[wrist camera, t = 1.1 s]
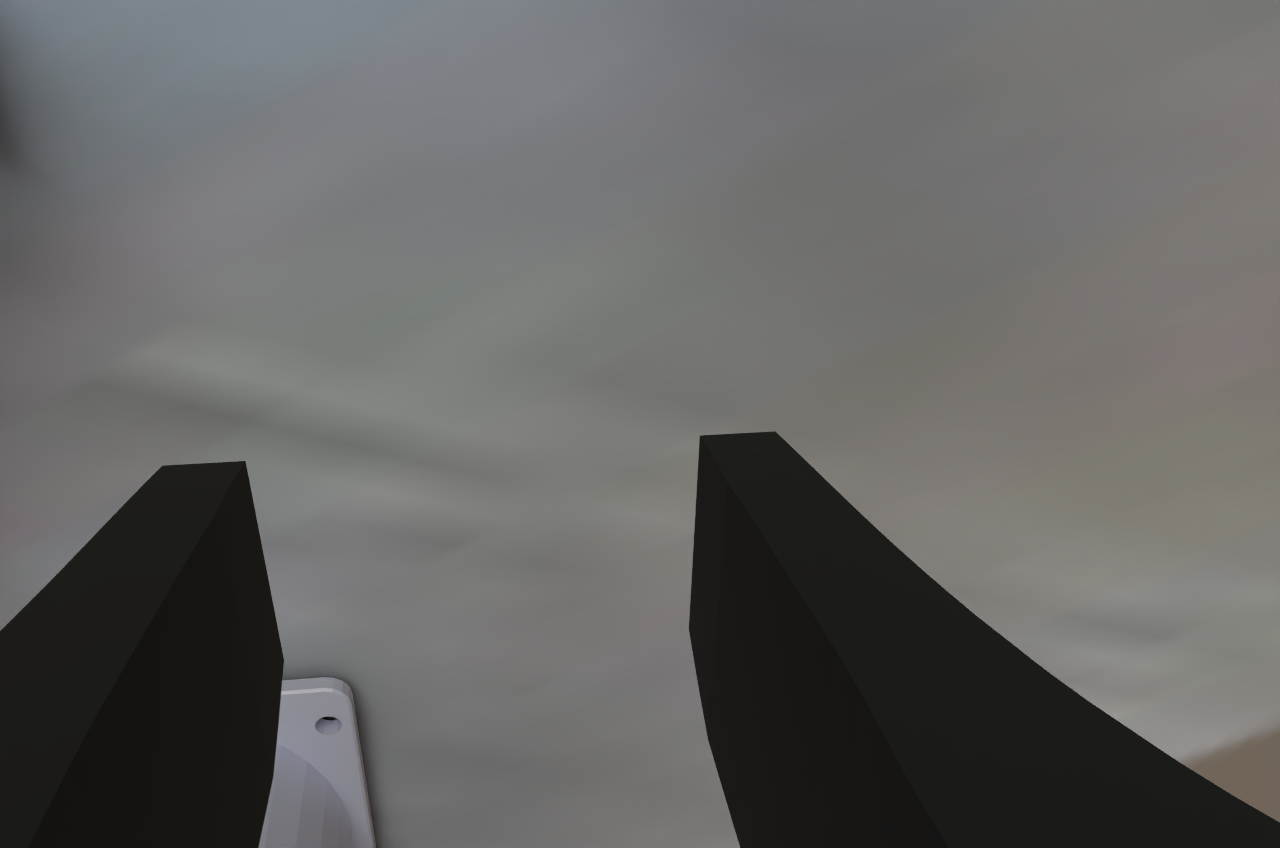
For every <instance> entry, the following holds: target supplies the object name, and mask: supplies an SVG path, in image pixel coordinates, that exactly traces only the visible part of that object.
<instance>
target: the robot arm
mask: <svg viewBox="0 0 1280 848" xmlns="http://www.w3.org/2000/svg"><path fill="white" fill-rule="evenodd" d="M689 632H690V638H691V644H692V650H693V656H694V662H695V668H696V674H697V680H698V686H699V692H700V697H701V703H702V708H703V713H704V719H705V724H706V730H707V735H708V740H709V744H710V747H711V751H712V754H713V757H714V761H715V764H716V768H717V771H718V774H719V778H720V781H721V784H722V788H723V791H724V794H725V798H726V801H727V804H728V808H729V811H730V815H731V818H732V821H733V825H734V828H735V831H736V834H737V838H738V841H739V844H740V848H1280V823H1279V822H1278V821H1276V820H1274V819H1272V818H1271V817H1269V816H1267V815H1265V814H1264V813H1262V812H1260V811H1259V810H1257V809H1255V808H1253V807H1252V806H1250V805H1248V804H1246V803H1245V802H1243V801H1241V800H1239V799H1238V798H1236V797H1234V796H1233V795H1231V794H1229V793H1228V792H1226V791H1224V790H1223V789H1221V788H1220V787H1218V786H1217V785H1215V784H1213V783H1212V782H1210V781H1208V780H1207V779H1205V778H1204V777H1202V776H1200V775H1199V774H1197V773H1196V772H1194V771H1192V770H1191V769H1189V768H1187V767H1186V766H1184V765H1183V764H1181V763H1180V762H1178V761H1176V760H1175V759H1173V758H1172V757H1170V756H1169V755H1167V754H1166V753H1164V752H1163V751H1161V750H1160V749H1158V748H1157V747H1156V746H1154V745H1153V744H1151V743H1150V742H1148V741H1147V740H1145V739H1144V738H1142V737H1141V736H1139V735H1138V734H1136V733H1135V732H1133V731H1132V730H1130V729H1129V728H1127V727H1126V726H1124V725H1123V724H1121V723H1120V722H1118V721H1117V720H1115V719H1114V718H1112V717H1111V716H1109V715H1108V714H1106V713H1105V712H1104V711H1102V710H1101V709H1099V708H1098V707H1096V706H1095V705H1093V704H1092V703H1090V702H1089V701H1087V700H1086V699H1084V698H1083V697H1082V696H1080V695H1079V694H1078V693H1076V692H1075V691H1073V690H1072V689H1071V688H1069V687H1068V686H1067V685H1065V684H1064V683H1062V682H1061V681H1060V680H1058V679H1057V678H1055V677H1054V676H1053V675H1051V674H1050V673H1049V672H1047V671H1046V670H1045V669H1043V668H1042V667H1041V666H1039V665H1038V664H1037V663H1036V662H1034V661H1033V660H1032V659H1031V658H1029V657H1028V656H1027V655H1025V654H1024V653H1023V652H1022V651H1020V650H1019V649H1018V648H1017V647H1015V646H1014V645H1013V644H1011V643H1010V642H1009V641H1008V640H1006V639H1005V638H1004V637H1003V636H1001V635H1000V634H999V633H997V632H996V631H995V630H994V629H992V628H991V627H990V626H988V625H987V624H986V623H985V622H983V621H982V620H981V619H980V618H978V617H977V616H976V615H975V614H973V613H972V612H971V611H970V610H969V609H968V608H966V607H965V606H964V605H963V604H962V603H960V602H959V601H958V600H957V599H956V598H954V597H953V596H952V595H951V594H950V593H948V592H947V591H946V590H945V589H944V588H942V587H941V586H940V585H939V584H938V583H937V582H936V581H934V580H933V579H932V578H931V577H930V576H929V575H927V574H926V573H925V572H924V571H923V570H922V569H921V568H920V567H918V566H917V565H916V564H915V563H914V562H913V561H912V560H911V559H909V558H908V557H907V556H906V555H905V554H904V553H903V552H902V551H900V550H899V549H898V548H897V547H896V546H895V545H894V544H893V543H892V542H890V541H889V540H888V539H887V538H886V537H885V536H884V535H883V534H882V533H881V532H880V531H879V530H877V529H876V528H875V527H874V526H873V525H872V524H871V523H870V522H869V521H868V520H867V519H866V518H865V517H864V516H863V515H862V514H861V513H860V512H858V511H857V510H856V509H855V508H854V507H853V506H852V505H851V504H850V503H849V502H848V501H847V500H846V499H845V498H844V497H843V496H842V495H841V494H840V493H839V492H838V491H837V490H835V489H834V488H833V487H832V486H831V485H830V484H829V483H828V482H827V481H826V480H825V479H824V478H823V477H822V476H821V475H820V474H819V473H818V472H817V471H816V470H815V469H814V468H813V467H812V466H811V465H810V464H809V463H808V462H806V461H805V460H804V459H803V458H802V457H801V456H800V455H799V454H798V453H797V452H796V451H795V450H794V449H793V448H792V447H791V446H790V445H789V444H788V443H787V442H786V441H785V440H784V439H783V438H781V437H780V436H779V435H778V434H777V433H776V432H758V433H740V434H722V435H704V436H700V445H699V462H698V480H697V497H696V515H695V533H694V550H693V568H692V586H691V603H690V621H689ZM283 664H284V658H283V653H282V648H281V643H280V638H279V632H278V627H277V622H276V617H275V612H274V606H273V601H272V596H271V591H270V586H269V581H268V575H267V570H266V565H265V560H264V555H263V550H262V544H261V539H260V534H259V529H258V524H257V519H256V513H255V508H254V503H253V498H252V493H251V488H250V482H249V477H248V472H247V467H246V462H245V461H239V462H222V463H204V464H186V465H168V466H162V467H161V468H160V469H159V470H158V471H157V472H156V473H155V474H154V475H153V476H152V477H151V478H150V479H149V480H148V481H147V482H146V483H145V484H144V485H143V486H142V487H141V488H140V489H139V490H138V491H137V492H136V493H135V494H134V495H133V496H132V497H131V498H130V499H129V500H128V501H127V502H126V503H125V504H124V505H123V506H122V507H121V508H120V509H119V510H118V511H117V513H116V514H115V515H114V516H113V517H112V518H111V519H110V520H109V521H108V522H107V523H106V524H105V525H104V526H103V527H102V528H101V529H100V530H99V531H98V532H97V533H96V534H95V535H94V536H93V538H92V539H91V540H90V541H89V542H88V543H87V544H86V545H85V546H84V547H83V548H82V549H81V550H80V551H79V552H78V553H77V554H76V555H75V556H74V557H73V558H72V559H71V560H70V561H69V562H68V564H67V565H66V566H65V567H64V568H63V569H62V570H61V571H60V572H59V573H58V574H57V575H56V576H55V577H54V578H53V579H52V580H51V581H50V582H49V583H48V584H47V585H46V586H45V587H44V588H43V589H42V590H41V591H40V592H39V593H38V594H37V595H36V596H35V597H34V598H33V599H32V600H31V601H30V602H29V603H28V604H27V605H26V606H25V607H24V608H23V609H22V610H21V611H20V612H19V613H18V614H17V615H16V616H15V617H14V618H13V619H12V620H11V621H10V622H9V623H8V624H7V625H6V626H5V627H4V628H3V629H2V630H1V631H0V848H376V842H375V836H374V829H373V823H372V816H371V810H370V803H369V797H368V790H367V784H366V777H365V771H364V764H363V758H362V751H361V745H360V738H359V732H358V725H357V719H356V712H355V706H354V699H353V693H352V691H351V689H350V686H348V685H347V684H346V683H345V682H344V681H342V680H339V679H336V678H330V677H320V678H307V679H294V680H282V677H283ZM326 716H329V717H335V718H337V719H336V720H324V719H322V718H323V717H326Z"/></svg>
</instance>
